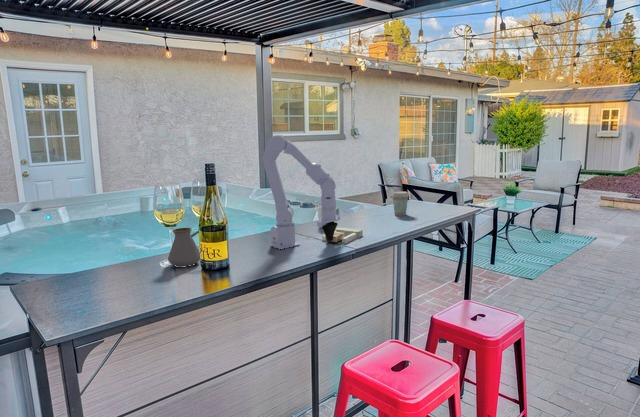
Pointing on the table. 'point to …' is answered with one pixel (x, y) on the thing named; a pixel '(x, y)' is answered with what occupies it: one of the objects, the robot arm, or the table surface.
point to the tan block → (337, 237)
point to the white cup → (319, 213)
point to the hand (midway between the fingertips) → (329, 240)
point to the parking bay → (347, 234)
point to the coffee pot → (184, 248)
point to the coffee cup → (400, 202)
